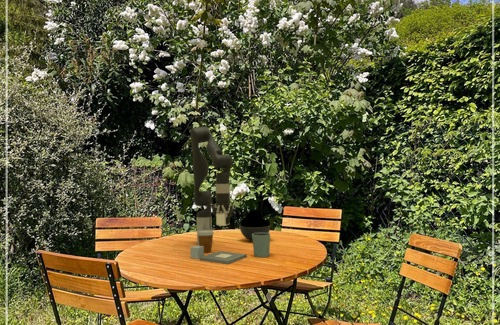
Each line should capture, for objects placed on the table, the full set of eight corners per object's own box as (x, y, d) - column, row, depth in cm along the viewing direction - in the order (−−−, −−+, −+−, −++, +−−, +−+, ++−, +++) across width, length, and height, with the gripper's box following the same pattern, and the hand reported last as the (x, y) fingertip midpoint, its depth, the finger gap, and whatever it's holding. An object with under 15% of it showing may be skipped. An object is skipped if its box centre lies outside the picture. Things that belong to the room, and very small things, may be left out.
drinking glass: (264, 258, 232) (264, 236, 232) (248, 256, 237) (248, 234, 237) (273, 254, 240) (273, 233, 240) (258, 252, 246) (257, 231, 246)
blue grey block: (196, 256, 239) (196, 245, 239) (203, 257, 236) (203, 246, 236) (190, 258, 235) (190, 247, 235) (197, 259, 232) (197, 248, 232)
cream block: (222, 223, 236) (221, 212, 236) (229, 224, 233) (229, 213, 233) (216, 225, 232) (216, 213, 231) (224, 225, 229) (224, 214, 229)
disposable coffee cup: (216, 250, 253) (216, 230, 253) (209, 254, 244) (209, 232, 244) (201, 249, 256) (201, 229, 256) (194, 253, 247) (194, 232, 247)
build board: (219, 253, 245) (219, 250, 245) (246, 257, 235) (246, 254, 235) (199, 260, 230) (199, 257, 230) (227, 264, 220) (227, 261, 220)
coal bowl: (263, 236, 295) (263, 209, 294) (275, 242, 276) (275, 212, 276) (235, 239, 288) (235, 210, 287) (245, 244, 269) (245, 214, 269)
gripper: (237, 192, 232) (238, 223, 232) (216, 191, 239) (216, 222, 239) (229, 193, 225) (230, 225, 225) (207, 192, 233) (208, 223, 233)
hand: (223, 223), depth 232 cm, fingers closed on cream block, 5 cm apart
